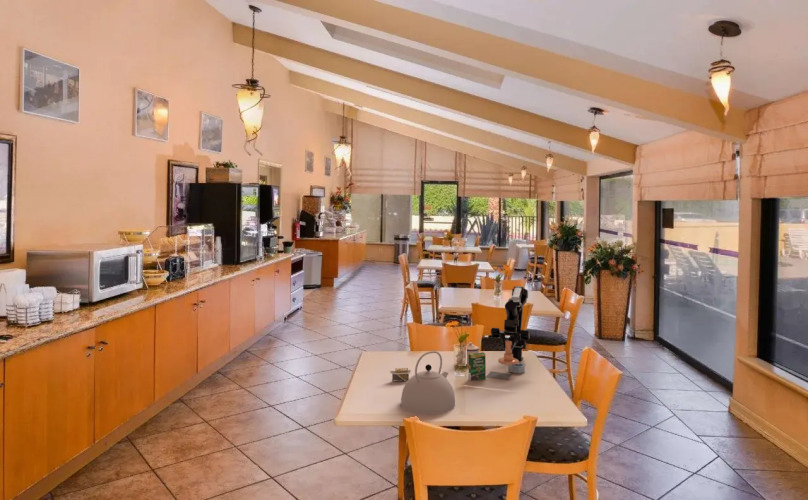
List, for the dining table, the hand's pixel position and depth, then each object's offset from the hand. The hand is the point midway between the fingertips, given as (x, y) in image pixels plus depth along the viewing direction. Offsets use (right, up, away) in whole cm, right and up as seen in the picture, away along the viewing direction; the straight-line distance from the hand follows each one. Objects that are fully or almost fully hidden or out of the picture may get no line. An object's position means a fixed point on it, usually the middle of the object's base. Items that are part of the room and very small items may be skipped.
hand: (508, 348), depth 282 cm
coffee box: (-16, -14, -7) cm, 23 cm away
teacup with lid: (-18, -12, +21) cm, 30 cm away
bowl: (+6, -13, +7) cm, 16 cm away
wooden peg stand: (0, -7, +2) cm, 7 cm away
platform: (-53, -14, -9) cm, 55 cm away
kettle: (-40, -17, -40) cm, 59 cm away
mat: (-5, -14, -1) cm, 14 cm away
